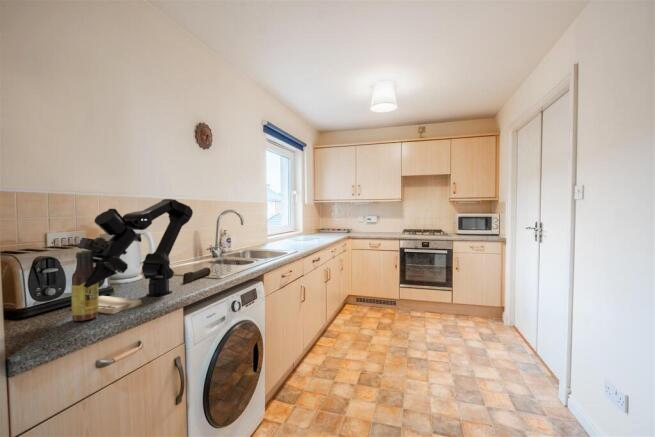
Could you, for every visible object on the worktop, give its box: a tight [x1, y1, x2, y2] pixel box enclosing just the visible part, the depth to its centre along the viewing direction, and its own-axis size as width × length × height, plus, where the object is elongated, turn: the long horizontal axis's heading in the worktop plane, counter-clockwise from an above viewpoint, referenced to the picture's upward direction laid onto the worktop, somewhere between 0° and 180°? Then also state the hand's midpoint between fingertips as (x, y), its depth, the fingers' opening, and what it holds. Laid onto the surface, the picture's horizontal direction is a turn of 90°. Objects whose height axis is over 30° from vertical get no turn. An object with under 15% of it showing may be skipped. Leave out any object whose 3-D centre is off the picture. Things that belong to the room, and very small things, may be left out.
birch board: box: [98, 295, 142, 315], centre depth 99 cm, size 10×18×2 cm, turn 74°
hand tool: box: [182, 266, 211, 284], centre depth 139 cm, size 19×4×5 cm, turn 169°
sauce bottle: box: [70, 250, 100, 322], centre depth 88 cm, size 7×6×20 cm
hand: (79, 285), depth 87 cm, fingers closed on sauce bottle, 6 cm apart
